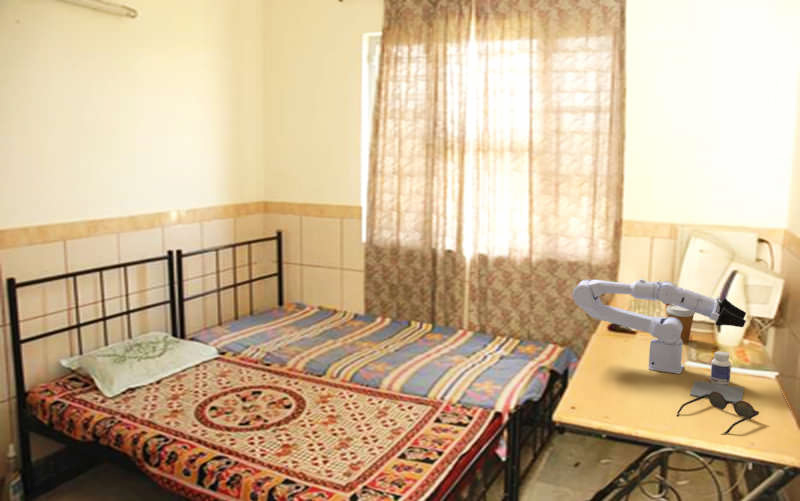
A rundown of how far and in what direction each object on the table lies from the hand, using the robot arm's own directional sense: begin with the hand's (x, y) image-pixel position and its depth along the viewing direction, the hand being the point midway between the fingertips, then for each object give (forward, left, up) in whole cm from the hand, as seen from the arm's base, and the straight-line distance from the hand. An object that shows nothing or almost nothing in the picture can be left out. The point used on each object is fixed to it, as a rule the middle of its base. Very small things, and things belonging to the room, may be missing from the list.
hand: (744, 319), depth 197 cm
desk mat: (-5, -15, -18) cm, 24 cm away
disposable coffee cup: (-21, +31, -18) cm, 42 cm away
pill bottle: (-5, -6, -18) cm, 20 cm away
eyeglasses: (-4, -34, -19) cm, 39 cm away
